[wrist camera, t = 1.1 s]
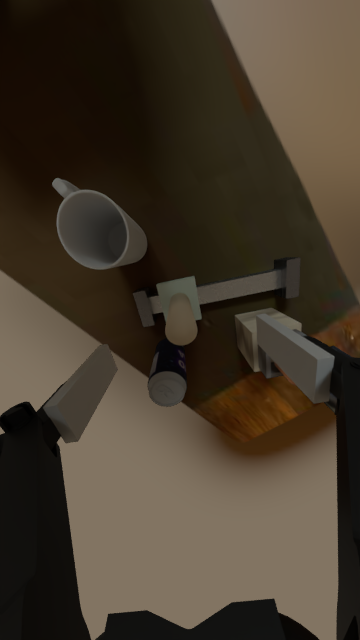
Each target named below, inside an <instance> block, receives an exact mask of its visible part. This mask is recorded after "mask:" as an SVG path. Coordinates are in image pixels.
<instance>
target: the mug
mask: <svg viewBox="0 0 360 640" xmlns="http://www.w3.org/2000/svg"><path fill="white" fill-rule="evenodd" d="M52 185H53V187H54V188H55V189H56V190H57V192H58V193H59V194H60V195H61V196H63V197H64V198H65V199H64V200H63V202H62V203H61V205H60V207H59V210H58V214H57V230H58V235H59V238H60V240H61V243H62V245H63V246H64V248H65V250H66V251H67V252H68V254H69V255H70V256H71V257H72V258H73V259H74V260H76V261H77V262H78V263H80V264H82V265H83V266H86V267H88V268H91V269H97V270H103V269H108V268H113V267H118V266H122V265H127V264H131V263H135V262H137V261H139V260H140V259H142V257H143V256H144V255H145V253H146V250H147V238H146V235H145V233H144V231H143V230H142V229H141V227H140V226H139V225H138V224H137V223H136V222H135V221H134V220H133V219H132V218H131V217H130V216H129V215H127V214H126V213H125V212H124V211H123V210H122V209H121V208H120V207H119V206H118V205H117V204H115V203H114V202H113V201H112V200H111V199H110V198H109V197H107V196H105V195H104V194H102V193H99V192H97V191H93V190H80V189H78V188H77V187H76V186H74V185H73V184H71V183H70V182H68V181H66V180H61V179H59V178H56V179H55V180H54V181H53V183H52Z"/></svg>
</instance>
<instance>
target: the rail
mask: <svg viewBox="0 0 360 640" xmlns="http://www.w3.org/2000/svg"><path fill="white" fill-rule="evenodd" d="M299 278H300V257H286V258H281V259H277V260H274V269H272V270H267V271H263V272H258V273H253V274H248V275H244V276H239V277H234V278H229V279H225V280H220V281H215V282H210V283H206V284H201V285H196V288H197V294H198V300H199V305H200V304H205V303H210V302H215V301H220V300H225V299H230V298H235V297H240V296H245V295H249V294H254V293H259V292H264V291H269V290H274V294H275V295H278V296H280V297H283V298H285V299H288V298H293V297H298V296H299ZM133 295H134V299H135V302H136V305H137V308H138V311H139V315H140V318H141V321H142V324H143V327H147V326H152V325H155V323H156V320H157V316H156V313H161V312H163V309H162V306H161V302H160V298H159V294H153V295H151V294H150V290H149V287H146V288H141V289H137V290H136V291H135V292H134V293H133Z"/></svg>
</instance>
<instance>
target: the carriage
mask: <svg viewBox="0 0 360 640" xmlns="http://www.w3.org/2000/svg"><path fill="white" fill-rule="evenodd" d="M156 286H157V290H158V294H159V298H160V302H161V306H162V309H163V313H164V317H165V321H166V327H165V334H166V337H167V338H168V340H169V341H170V342H172V343H173V344H176V345H187V344H189V343H191V342H192V341H193V340H194V339H195V338H196V336H197V325H196V321H195V320H200V319H202V317H201V312H200V306H199V300H198V294H197V288H196V283H195V277H194V276H191V277H186V278H181V279H177V280H172V281H167V282H163V283H158V284H157V285H156Z"/></svg>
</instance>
